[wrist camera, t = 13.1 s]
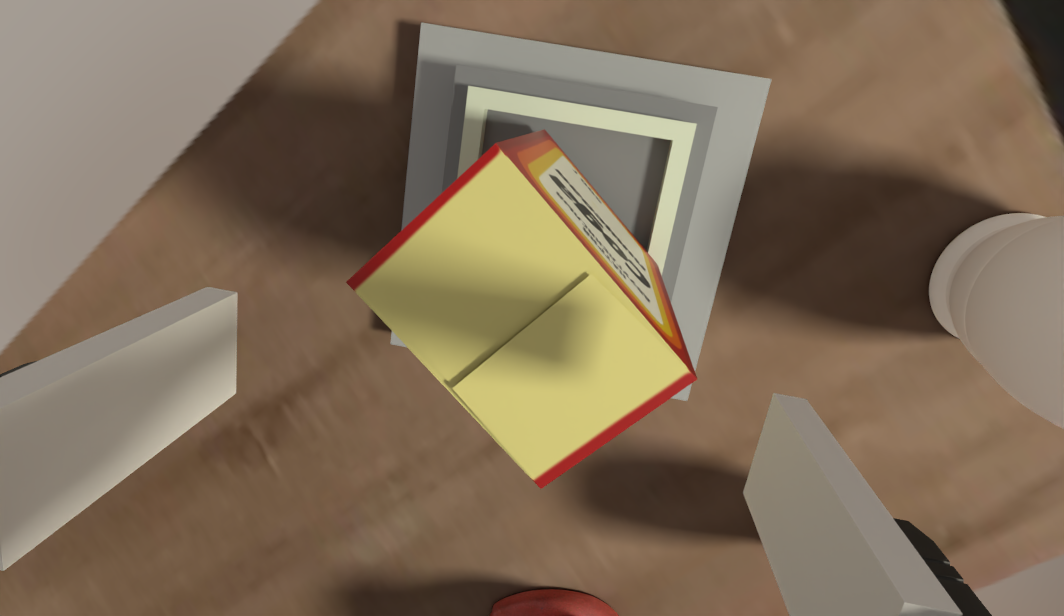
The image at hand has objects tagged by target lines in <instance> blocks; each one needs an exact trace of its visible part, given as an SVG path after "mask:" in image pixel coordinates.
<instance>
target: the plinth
mask: <svg viewBox="0 0 1064 616" xmlns="http://www.w3.org/2000/svg"><path fill="white" fill-rule="evenodd" d="M770 83H771V79H767V78H761V77H755V76H749V75H743V74H736V73H730V72H724V71H718V70H712V69H705V68H699V67H693V66H687V65H681V64H675V63H668V62H662V61H656V60H650V59H644V58H637V57H631V56H625V55H619V54H613V53H607V52H600V51H594V50H588V49H582V48H576V47H569V46H563V45H557V44H551V43H545V42H538V41H532V40H526V39H520V38H514V37H508V36H501V35H495V34H489V33H483V32H477V31H470V30H464V29H458V28H452V27H446V26H439V25H433V24H427V23H421V29H420V40H419V50H418V61H417V72H416V82H415V93H414V103H413V114H412V124H411V135H410V145H409V156H408V166H407V177H406V187H405V198H404V208H403V219H402V229H401V231H402V230H403V229H404V228H405V227H406V226H407V225H408V224H409V223H410V222H411V221H412V220H413V219H415V218H416V217H417V216H418V215H419V214H420V213H421V212H422V211H423V210H424V209H425V208H426V207H427V206H429V205H430V204H431V203H432V202H433V201H434V200H435V199H436V198H437V197H438V196H439V195H440V194H441V193H443V192H444V191H445V190H446V189H447V188H448V187H449V186H450V185H451V184H452V183H453V182H454V181H455V180H457V179H458V178H459V177H460V176H461V175H462V174H463V173H464V172H465V171H466V170H467V169H468V168H469V167H470V166H472V165H473V164H474V163H475V162H476V161H477V160H478V159H479V158H480V157H481V156H482V155H483V154H484V153H486V152H487V151H488V150H489V149H490V148H491V147H492V146H493V145H494V144H495V143H498V142H501V141H505V140H508V139H512V138H516V137H519V136H523V135H526V134H530V133H534V132H537V131H541V130H544V129H545V130H546V131H547V133H548V134H549V135H550V136H551V137H552V139H553V140H554V141H555V142H556V143H557V145H558V146H559V147H560V148H561V149H562V150H563V152H564V153H565V154H566V155H567V156H568V158H569V159H570V160H571V161H572V162H573V164H574V165H575V166H576V167H577V168H578V170H579V171H580V172H581V173H582V174H583V176H584V177H585V178H586V179H587V180H588V182H589V183H590V184H591V185H592V186H593V188H594V189H595V190H596V191H597V192H598V194H599V195H600V196H601V197H602V198H603V200H604V201H605V202H606V203H607V204H608V206H609V207H610V208H611V209H612V210H613V212H614V213H615V214H616V215H617V216H618V218H619V219H620V220H621V221H622V222H623V224H624V225H625V226H626V227H627V228H628V230H629V231H630V232H631V233H632V234H633V236H634V237H635V238H636V239H637V240H638V242H639V243H640V244H641V245H642V246H643V248H644V249H645V250H646V251H647V252H648V254H649V255H650V256H651V257H652V258H653V259H654V261H655V262H656V263H657V264H658V267H659V270H660V273H661V276H662V279H663V282H664V284H665V287H666V290H667V293H668V296H669V299H670V302H671V305H672V307H673V310H674V313H675V316H676V319H677V322H678V325H679V328H680V330H681V333H682V336H683V339H684V342H685V345H686V348H687V351H688V353H689V356H690V359H691V362H692V365H693V368H694V371H695V370H696V366H697V362H698V358H699V354H700V351H701V347H702V343H703V339H704V335H705V332H706V328H707V324H708V320H709V316H710V312H711V309H712V305H713V301H714V297H715V293H716V289H717V286H718V282H719V278H720V274H721V270H722V267H723V263H724V259H725V255H726V251H727V247H728V244H729V240H730V236H731V232H732V228H733V224H734V221H735V217H736V213H737V209H738V205H739V202H740V198H741V194H742V190H743V186H744V182H745V179H746V175H747V171H748V167H749V163H750V159H751V156H752V152H753V148H754V144H755V140H756V137H757V133H758V129H759V125H760V121H761V117H762V114H763V110H764V106H765V102H766V98H767V94H768V91H769V87H770ZM391 344H393V345H398V346H403V347H407V346H406V345H405V344H404V343H403V342H402V341H401V340H400V339H399V338H398V337H397V336H396V335H395V334H394V332H393V331H392V334H391ZM691 385H692V383H691V384H690V385H688V386H687V387H686V388H684V389H683V390H681V391H680V392H678V393H677V394H676V395H674V396H673V397H671V398H674V399H679V400H684V401H687V400H688V396H689V393H690V389H691Z"/></svg>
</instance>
